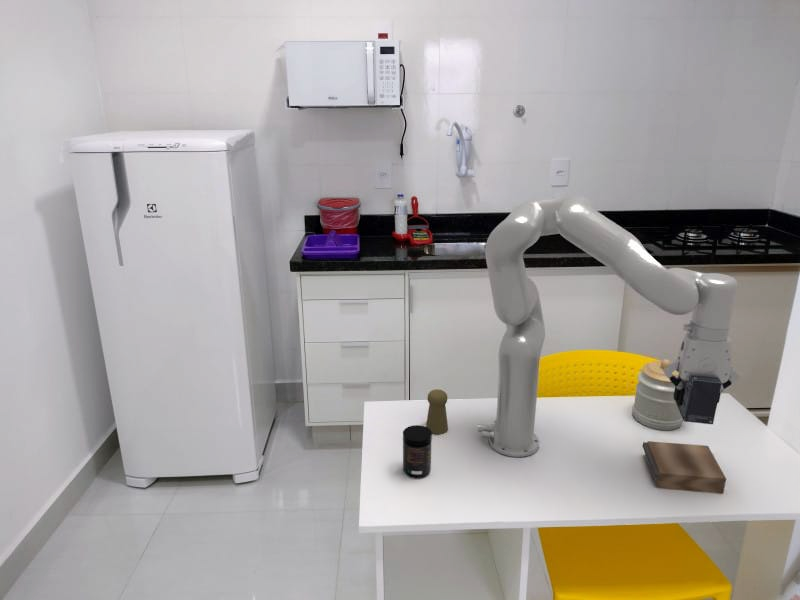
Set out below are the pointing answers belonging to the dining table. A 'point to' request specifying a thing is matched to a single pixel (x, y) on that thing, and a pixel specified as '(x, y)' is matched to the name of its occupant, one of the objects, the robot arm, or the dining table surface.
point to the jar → (656, 398)
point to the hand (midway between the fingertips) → (695, 403)
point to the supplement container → (417, 451)
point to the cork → (437, 412)
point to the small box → (700, 399)
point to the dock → (684, 467)
